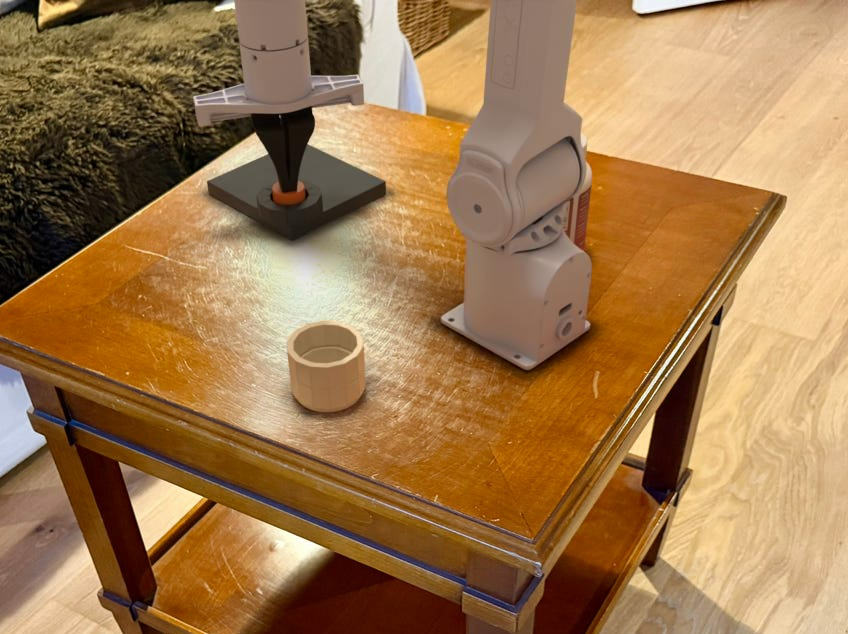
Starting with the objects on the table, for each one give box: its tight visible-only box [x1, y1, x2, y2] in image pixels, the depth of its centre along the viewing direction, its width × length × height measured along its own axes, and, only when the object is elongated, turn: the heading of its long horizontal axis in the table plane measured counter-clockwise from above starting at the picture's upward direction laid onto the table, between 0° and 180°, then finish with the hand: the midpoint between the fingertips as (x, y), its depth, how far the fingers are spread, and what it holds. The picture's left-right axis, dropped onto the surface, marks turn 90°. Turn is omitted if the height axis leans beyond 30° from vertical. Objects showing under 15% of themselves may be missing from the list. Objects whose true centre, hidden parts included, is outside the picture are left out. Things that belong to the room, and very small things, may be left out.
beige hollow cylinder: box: [286, 320, 367, 413], centre depth 76 cm, size 6×6×4 cm
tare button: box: [272, 181, 306, 205], centre depth 94 cm, size 3×3×2 cm
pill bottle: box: [563, 131, 593, 252], centre depth 86 cm, size 6×6×11 cm
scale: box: [206, 143, 387, 242], centre depth 98 cm, size 14×13×3 cm
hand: (288, 187), depth 93 cm, fingers closed, pressing on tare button
